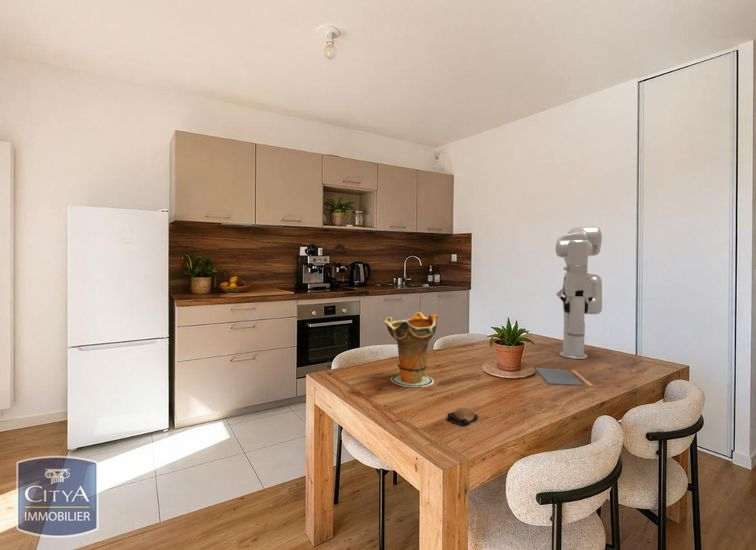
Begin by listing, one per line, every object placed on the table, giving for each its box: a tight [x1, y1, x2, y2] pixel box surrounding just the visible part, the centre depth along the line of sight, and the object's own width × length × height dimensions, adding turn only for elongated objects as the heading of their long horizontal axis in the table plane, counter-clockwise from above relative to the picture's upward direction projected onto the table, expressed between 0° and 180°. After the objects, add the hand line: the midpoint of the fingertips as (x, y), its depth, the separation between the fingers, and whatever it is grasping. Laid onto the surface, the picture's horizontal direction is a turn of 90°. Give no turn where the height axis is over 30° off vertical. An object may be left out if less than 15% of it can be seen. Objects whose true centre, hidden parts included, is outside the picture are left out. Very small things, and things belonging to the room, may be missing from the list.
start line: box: [570, 369, 594, 387], centre depth 161 cm, size 20×2×1 cm, turn 172°
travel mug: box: [567, 290, 585, 337], centre depth 160 cm, size 6×7×20 cm
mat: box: [534, 367, 584, 387], centre depth 162 cm, size 20×13×1 cm, turn 172°
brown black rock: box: [445, 407, 480, 428], centre depth 121 cm, size 11×8×4 cm
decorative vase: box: [383, 311, 439, 388], centre depth 157 cm, size 21×23×28 cm
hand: (575, 312), depth 160 cm, fingers closed on travel mug, 6 cm apart
